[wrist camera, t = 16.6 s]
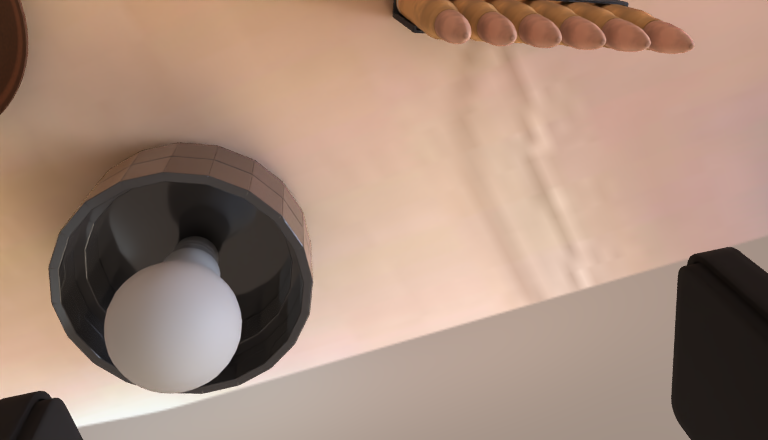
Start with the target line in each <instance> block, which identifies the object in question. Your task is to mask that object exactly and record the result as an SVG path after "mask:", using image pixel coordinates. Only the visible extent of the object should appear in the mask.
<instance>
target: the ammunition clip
mask: <svg viewBox="0 0 768 440" xmlns="http://www.w3.org/2000/svg"><path fill="white" fill-rule="evenodd" d="M393 17H394V18H395V19H396V20H398V21H399V22H400V23H402V24H403V25H404V26H406V27H407V28H408V29H410V30H411V31H412V32H414V33H426V34H427V35H429V36H430V37H433V38H435V39H442V40H444V41H447V42H449V43H453V44H461V43H464V42H466V41H468V40H469V39H473V40H475V41H484V42H486V43H490V44H492V45H496V46H506V45H510V44H512V43H513V42H514V43H525V44H530V45H532V46H534V47H539V48H550V47H554V46H557V45H565V46H571V47H573V48H576V49H582V50H593V49H598V48H601V47H606V48H612V49H615V50H618V51H625V52H637V51H642V50H645V49H646V50H652V51H656V52H660V53H667V54H679V53H685V52H688V51H690V50H692V49H693V48H694V46H695V45H694V42H693V40H692V38H691V37H690V36H689V35H688V34H687V33H686V32H684V31H683V30H682V29H680V28H678V27H676V26H674V25H672V24H670V23H666V22H663V21H661V20H659V19H656V18H654V17H653V16H651V15H650V14H648V13H646V12H644V11H642V10H638V9H634V8H630V7H628V3H627V2H624V1H620V0H394V6H393Z"/></svg>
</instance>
